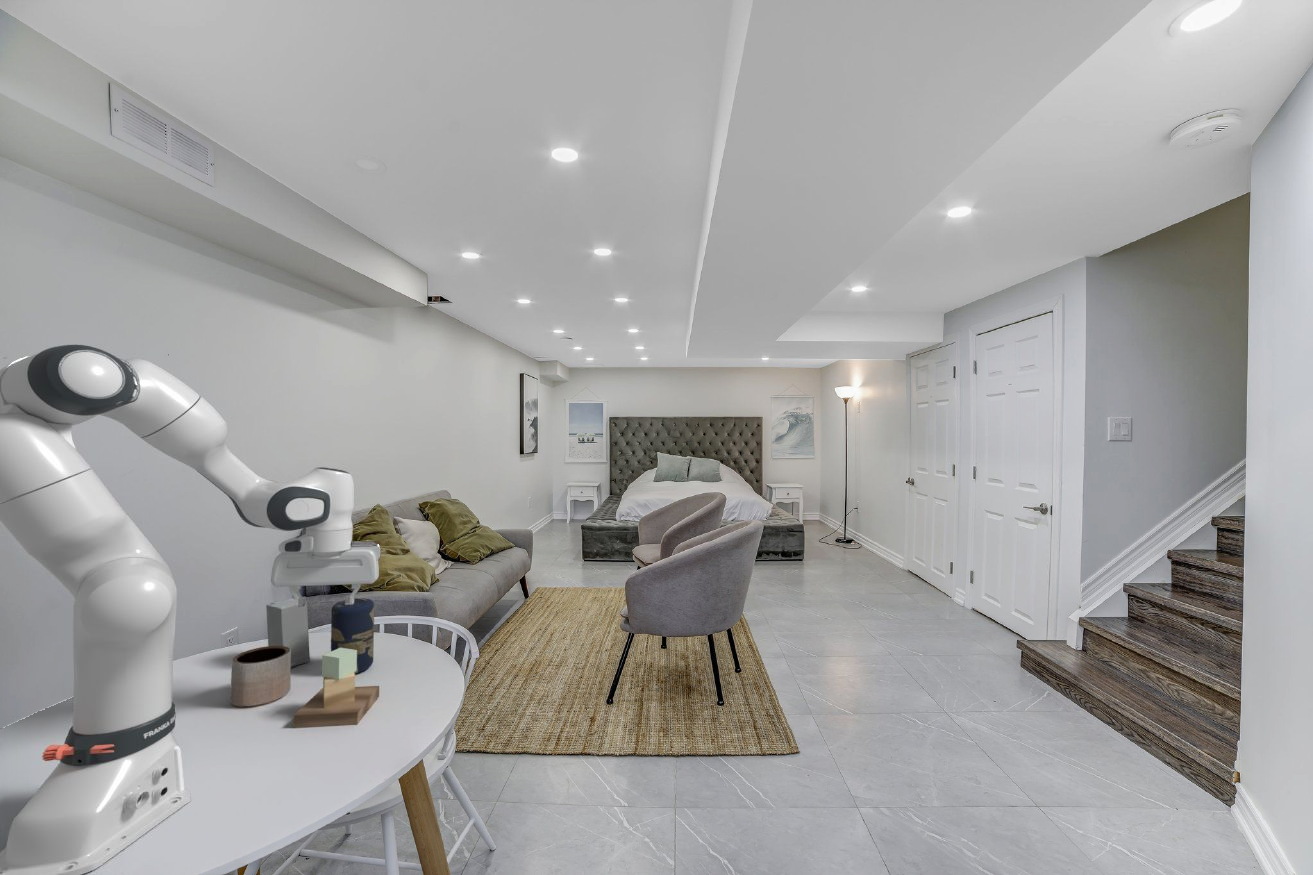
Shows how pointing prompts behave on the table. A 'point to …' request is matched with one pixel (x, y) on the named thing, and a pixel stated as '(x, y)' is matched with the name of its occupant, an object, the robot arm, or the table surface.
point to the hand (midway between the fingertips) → (325, 605)
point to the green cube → (339, 663)
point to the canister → (354, 629)
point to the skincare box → (289, 629)
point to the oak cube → (338, 690)
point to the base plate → (336, 709)
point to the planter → (260, 676)
